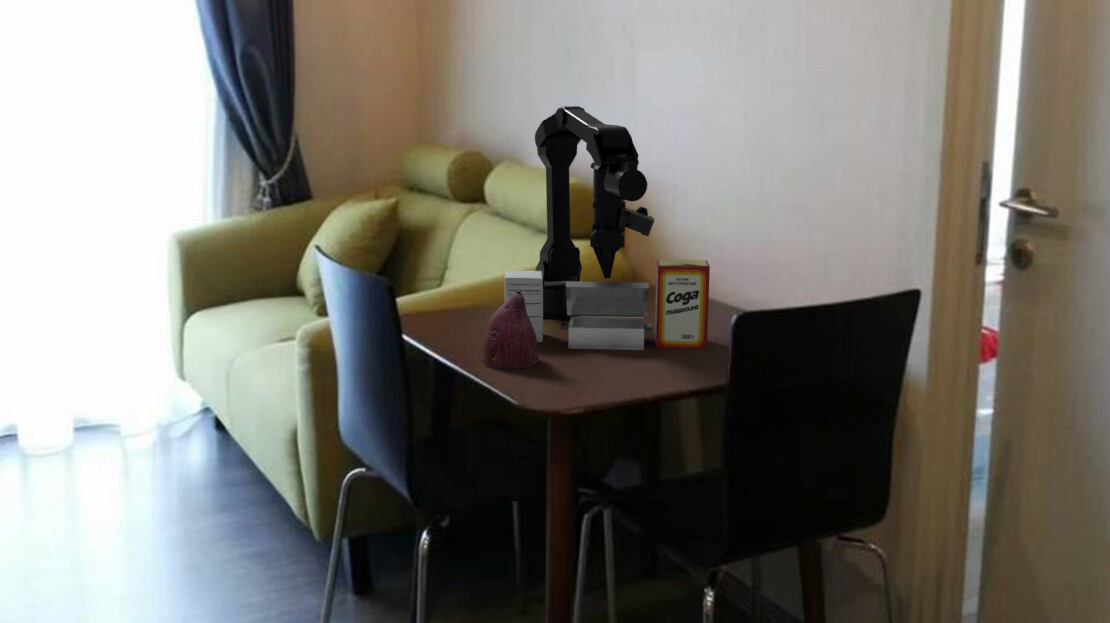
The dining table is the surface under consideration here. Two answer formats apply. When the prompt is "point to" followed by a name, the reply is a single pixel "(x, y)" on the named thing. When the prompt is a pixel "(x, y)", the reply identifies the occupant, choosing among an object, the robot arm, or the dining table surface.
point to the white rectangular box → (606, 332)
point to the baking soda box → (682, 303)
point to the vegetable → (510, 337)
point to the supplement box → (528, 295)
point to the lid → (607, 298)
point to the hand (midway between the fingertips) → (607, 278)
